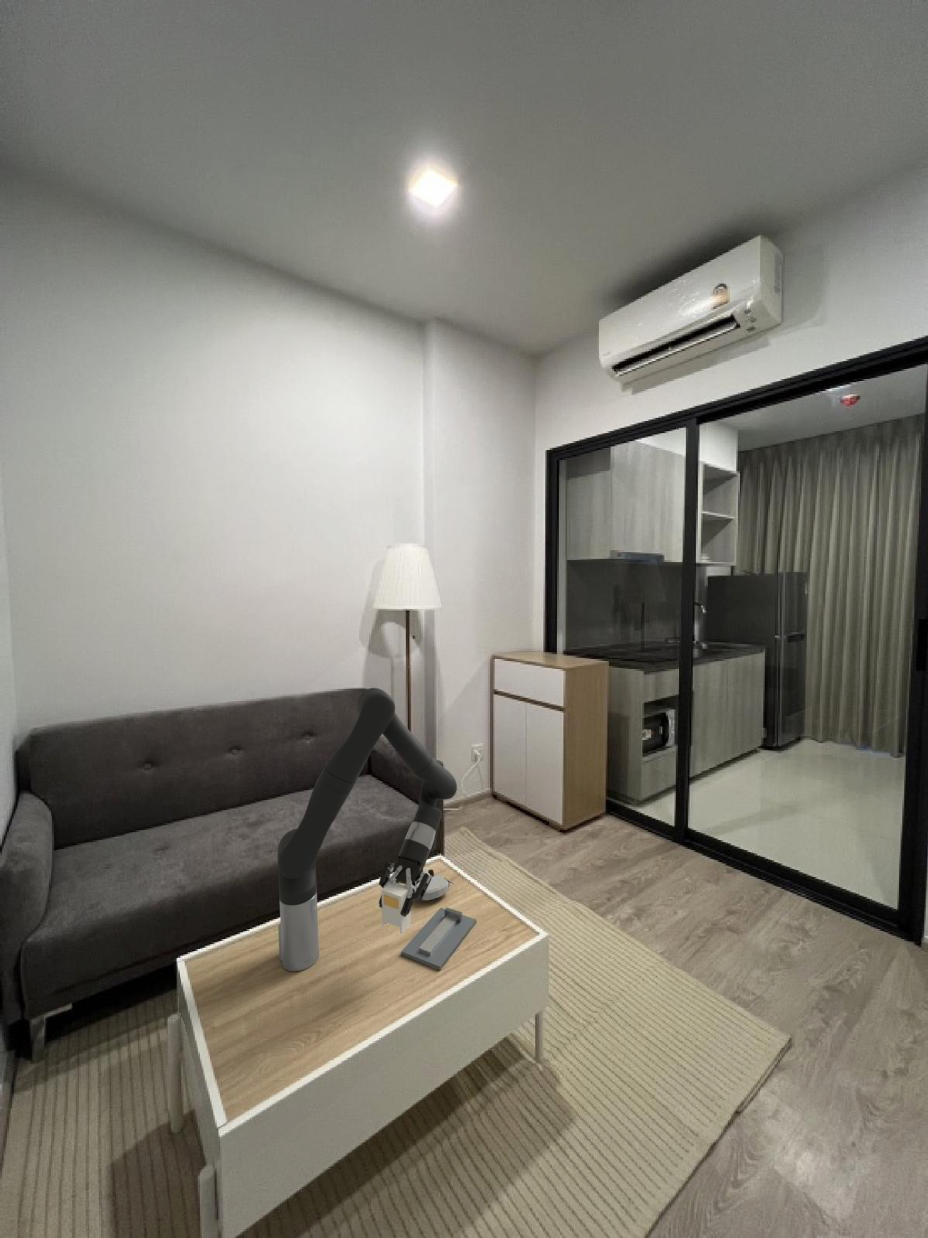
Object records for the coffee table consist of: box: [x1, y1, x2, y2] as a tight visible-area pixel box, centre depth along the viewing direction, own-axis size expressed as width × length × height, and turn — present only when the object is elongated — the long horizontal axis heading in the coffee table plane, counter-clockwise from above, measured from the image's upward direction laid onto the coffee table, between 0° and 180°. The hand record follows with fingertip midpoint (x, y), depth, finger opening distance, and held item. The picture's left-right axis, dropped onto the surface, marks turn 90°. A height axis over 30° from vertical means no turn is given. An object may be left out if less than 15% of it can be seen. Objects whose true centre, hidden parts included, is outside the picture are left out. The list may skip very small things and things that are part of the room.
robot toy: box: [416, 868, 455, 901], centre depth 155 cm, size 12×4×15 cm
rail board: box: [401, 907, 477, 971], centre depth 133 cm, size 12×20×1 cm, turn 152°
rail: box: [419, 907, 463, 956], centre depth 133 cm, size 5×16×2 cm, turn 152°
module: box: [381, 882, 412, 934], centre depth 122 cm, size 6×4×9 cm
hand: (392, 911), depth 121 cm, fingers closed on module, 6 cm apart
